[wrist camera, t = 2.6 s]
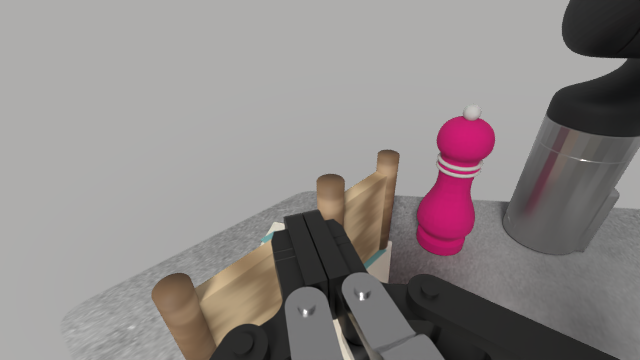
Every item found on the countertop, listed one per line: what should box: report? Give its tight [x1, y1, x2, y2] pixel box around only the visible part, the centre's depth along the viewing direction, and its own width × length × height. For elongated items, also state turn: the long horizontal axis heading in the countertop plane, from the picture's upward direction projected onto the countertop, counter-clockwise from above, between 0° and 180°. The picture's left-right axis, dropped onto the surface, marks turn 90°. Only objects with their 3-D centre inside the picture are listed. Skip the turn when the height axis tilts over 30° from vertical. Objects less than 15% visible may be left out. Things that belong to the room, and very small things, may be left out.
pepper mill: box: [416, 104, 495, 256], centre depth 37 cm, size 7×7×20 cm
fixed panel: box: [317, 150, 399, 264], centre depth 34 cm, size 12×3×15 cm, turn 135°
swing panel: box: [152, 239, 282, 360], centre depth 26 cm, size 14×2×14 cm, turn 135°
